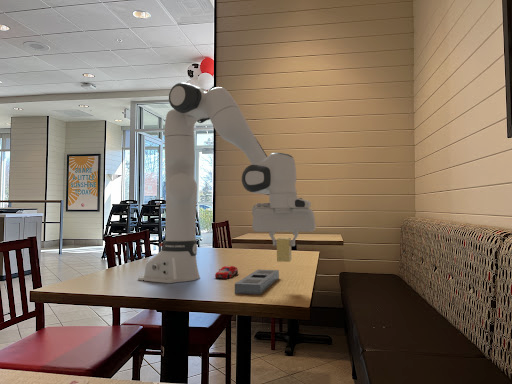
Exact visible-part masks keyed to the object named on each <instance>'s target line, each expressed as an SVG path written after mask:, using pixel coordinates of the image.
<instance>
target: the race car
mask: <svg viewBox="0 0 512 384" xmlns="http://www.w3.org/2000/svg"><path fill="white" fill-rule="evenodd" d="M214 275H215V276H214V277H215V279H224V280H225V279H226V280H229V279H230V278H232V277H235V276H237V275H239V269H238V267H236V266H234V265H225V266H222V267H221V268H220V269H218V271H217V272H216V273H215V274H214Z"/></svg>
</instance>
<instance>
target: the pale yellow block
mask: <svg viewBox="0 0 512 384" xmlns="http://www.w3.org/2000/svg"><path fill="white" fill-rule="evenodd" d="M276 240H277V246H276V262H282V263H283V262H285V263H286V262H287V263H289V262H291V261H292V246H290V240H292V237H278V238H276Z"/></svg>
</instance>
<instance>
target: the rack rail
mask: <svg viewBox="0 0 512 384" xmlns="http://www.w3.org/2000/svg"><path fill="white" fill-rule="evenodd" d="M279 279H280V270H278V269H257V270H256V269H255V271H253V272H251V273H250V274H248V275H247V276H245V277H243V278H242V279H240V280H238V281H237V282H235V283H234V294H236V295H253V296H260V295H262V294H263V293H265V292H266V290H268V288H270V287H271V286H272V285H274V283H276V282H277V281H278V280H279Z"/></svg>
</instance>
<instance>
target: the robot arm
mask: <svg viewBox="0 0 512 384" xmlns="http://www.w3.org/2000/svg"><path fill="white" fill-rule="evenodd" d="M168 101H169V105H170V107H171V108H172V109H170V110H169V111H167V114H166V116H165V121H164V123H165V124H164V131H163V132H164V173H165V174H164V175H165V179H164V180H165V240H164V241H162V242H160V243H158V244H159V246H158V247H161V249H160V250H159V252H158V253H157V254H155V255H154V256H152V257H151V258H150V259H149V260H148V261H147V262H146V264H145V267H144V273H143V274H141V275H139V276H138V277H137V279H138V281H143V280H144V281H145V282H153V283H164V284H174V283H179V282H180V283H181V282H189V281H190V282H191V281H195V280H199V279H200V278H201V276H200V273H199V268H198V263H197V255H198V254H197V252H198V245H197V243H198V241H197V239H196V232H197V231H196V229H197V228H196V223H197V220H196V219H197V201H198V200H197V199H198V196H197V195H198V184H197V182H196V179H195V160H196V159H195V158H196V156H195V155H196V154H195V125H196V123H199V124H203V123H205V122H207V121H209V120H210V122H211V125H212V127H213V128H214V130H215V131H216V132H217V134H218V136H219V137H220V138H221V139H222V140H224V141H225V142H227V143H229V144H232V145H234V146H235V147H237V148H238V149H240V150H241V152H243V153H244V155H245V156H246V157H247V159H248V161H249V162H250V165H248V166H247V167H245V168H244V170H243V172H242V175H241V184H242V186H243V188H244V189H245V190H246V191H248V192H250V193H252V194H259V195H266V196H269V198H268V199H269V202H264V203H256V204H254V205H253V206H252V207H251V210H252V212H251V214H252V216H253V217H252V224H251V226H252V228H251V229H252V230H253V232H258V233H260V232H261V233H264V232H265V233H266V232H267V233H269V234H268V236H269V237H270V239H271V241H272V246H273V247H277V238H275V236H274V235H276V232H279V233H280V232H281V233H282V232H288V233H289V232H292V236H294V237H293V238H292V239H291V240H290V246H291V247H295V246H296V240H297V238H298V236H299V233H300V232H302V233H303V232H304V233H305V232H306V233H307V232H309V233H310V232H311V233H312V232H314V231H316V229H317V228H316V226H317V225H316V219H315V213H314V211H313V210H312V208H311V207H312V202H311V201H310V200H307V199H304V198H302V197H298V195H297V189H296V184H297V168H296V162H295V159H294V157H293V156H292V155H291V154H288V153H284V152H271V153H270V154H269V155H267V153H266V152H265V150H264V148H263V147H262V145H261V144H260V142H259V141H258V138H256V135H254V132H253V131H252V129H251V128H250V125H249V124H248V122H247V120H246V118H245V116H244V114H243V112H242V111H241V108H240V106H239V105H238V103H237V102H236V101H235V99H234V98H233V96H232V95H231V93H230V92H229V91H228V90H227V89H226V88H224V87H221V86H220V87H219V86H217V87H213V88H211V89H209V90H206V89H205V88H203V87H200V86H196V85H193V84H191V83H187V82H178V83H176V84H173V86H172V87H171V89H170V90H169V94H168Z"/></svg>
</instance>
